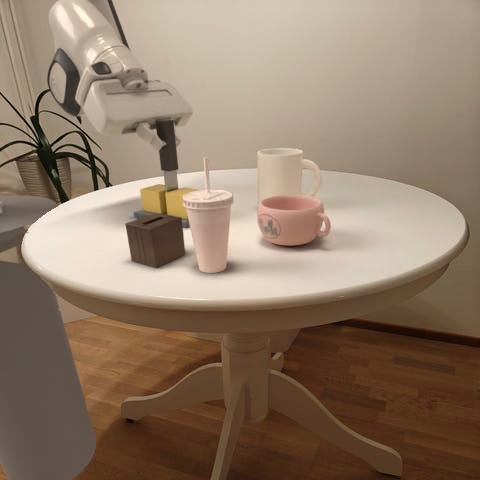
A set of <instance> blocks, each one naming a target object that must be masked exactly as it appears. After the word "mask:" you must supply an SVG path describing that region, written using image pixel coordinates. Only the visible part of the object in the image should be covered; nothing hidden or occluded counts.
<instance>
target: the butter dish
mask: <svg viewBox="0 0 480 480" xmlns="http://www.w3.org/2000/svg"><path fill="white" fill-rule="evenodd" d="M151 214H154V213H153V212H147V211H143V208H142V209H139V210H136V211H133V216H134V218H136V219H140V218H143V217H146V216H149V215H151ZM163 214H166V215H168V214H167V212H166V213H163ZM182 225H183V229H184V228H185V229H187V228H190V224H189V220H188V219H183V218H182Z"/></svg>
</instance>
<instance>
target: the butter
mask: <svg viewBox="0 0 480 480" xmlns="http://www.w3.org/2000/svg"><path fill="white" fill-rule="evenodd" d="M199 190H200V189H198V188H190V187H186V186H185V187H184V186H183V187H181V188H178V189H177V190H174V191H170V192H167V193H166V190H165V184H162V183H158V184H154V185H149V186H147V187H143V188H139V192H140V199H141V200H140V201H141V207H142V209H143V211H147V212H153V213H160V214H163V213H166V212H167V214H168V215H171V216H176V217H181V218H183V219H188V215H187V210H186V207H184V206H183V196H184V195H185V194H187V193H190V192H193V191H199Z"/></svg>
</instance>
